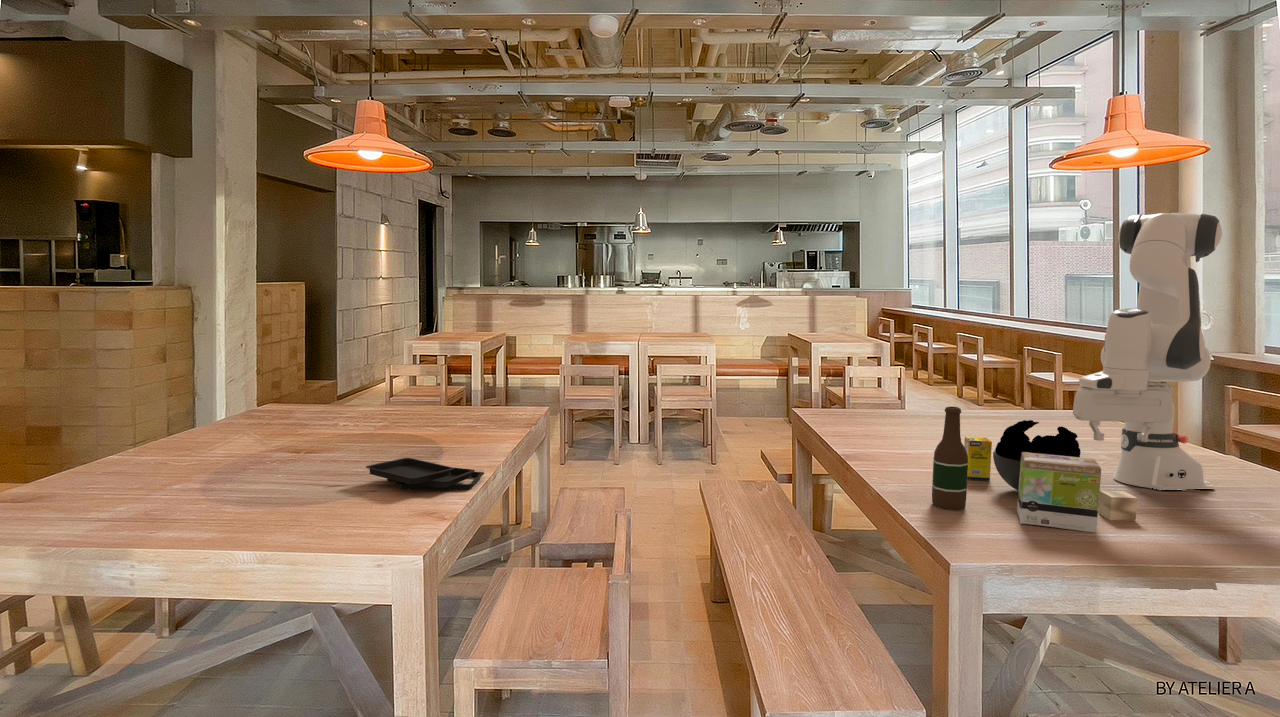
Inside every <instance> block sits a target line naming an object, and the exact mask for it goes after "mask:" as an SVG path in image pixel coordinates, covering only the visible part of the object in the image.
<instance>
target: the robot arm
mask: <svg viewBox="0 0 1280 717" xmlns="http://www.w3.org/2000/svg"><path fill="white" fill-rule="evenodd" d="M1222 230H1223V229H1222V226H1221V224H1220V220H1219V218H1217V216H1215V215H1211V214H1207V213H1201V214H1196V213H1185V212H1170V213H1169V212H1161V213H1155V214H1154V213H1153V214H1151V213H1150V214H1142V213H1141V214H1133V215H1129V216H1128V217H1126V218H1125V219H1124V220H1123V222H1122V224H1121V225H1120V227H1119V230H1118V232H1117V241H1118V244H1119V249H1121V251H1122V252H1124V253H1126V254H1129V255H1130V257H1129V272H1130V275H1131V276H1132V277H1133V279H1134V280H1135V281H1136V282H1137V283H1139V291H1138V296H1137V297H1138V298H1137V301H1136V308H1121V309H1116V310H1113V311H1112V312H1110V315H1109V318H1108V322H1107V327H1106V332H1105V334H1104V342H1103V343H1104V345H1103V347H1102V349H1101V351H1100V352H1101V353H1100V362H1101V364H1102V370H1101V371H1098V372H1095V373H1091V374H1087V375H1083V376H1081V377H1080V378H1079V379H1078V385H1080V386H1081V387H1079V388H1078V389H1077V390H1076V392H1075V395H1074V400H1073V406H1072V415H1073V416H1074V417H1075V419H1077V420H1080V421H1086V422H1087V421H1088V424H1089V426H1090V428H1091V430H1092V431H1093V441H1097V442H1099V441H1100V442H1101V441H1102V442H1103V441H1104V440H1105V438H1104V437H1105V433H1104V432H1102V431H1100V429H1099V427H1100V425H1101V422H1115V423H1116V422H1120V423H1122V422H1123V423H1124V426H1123V428H1121V438H1120V447H1121V450H1120V457H1119V461H1118V464H1117V468H1116V471H1115V473H1114V475H1113V479H1114V480H1115V481H1117V482H1119V483H1123V484H1127V485H1131V486H1136V487H1141V488H1147V489H1152V488H1153V490H1156V489H1157V491H1161V490H1177V489H1198V488H1213V487H1214V485H1213V483H1212V482H1209V481H1208V480H1206V479H1205V478H1204V470H1203V466H1202V464H1201V463H1200V461H1198V460H1197V459H1195V458H1194V457H1193V456H1192V455H1190V454H1189V453H1188V452H1187V451H1185V449H1183V448H1182V447H1180V444H1179V443H1181V444H1184V445H1185V444H1187V443H1188V442H1189V438H1188V436H1186V435H1183V434H1177V433H1176V432H1174V422H1175V420H1174V419H1175V409H1176V408H1175V405H1174V402H1173V396H1174V388H1173V386H1172V385H1171V384H1169V383H1167V382H1174V383H1175V382H1176V383H1186V382H1187V383H1188V382H1194V381H1196V382H1197V381H1200V380H1201V379H1202V378H1204V377H1205V376H1206V375H1207V373H1208V372H1209V370H1210V368H1211V363H1212V359H1211V355H1210V352H1209V350H1208V349H1207V348H1206V343H1205V338H1204V334H1203V331H1202V319H1201V318H1202V317H1201V300H1200V299H1201V298H1200V297H1201V296H1200V287H1199V285H1200V284H1199V280H1198V279H1199V278H1198V275H1197V272H1196V270H1195V269H1194V268H1192V263H1191V257H1195V263H1198V262H1200V260H1201V259H1202V258H1206V257H1207V256H1208V257H1209V255H1212V254H1213V253H1214V252H1215V251H1216V248H1217V247H1218V246H1219V244H1220V242H1221V240H1222V235H1223V231H1222Z"/></svg>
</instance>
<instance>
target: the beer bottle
mask: <svg viewBox="0 0 1280 717" xmlns="http://www.w3.org/2000/svg"><path fill="white" fill-rule="evenodd" d="M944 412H945V416H944V426H943V434H942V438H941V440H940V442H939V443H938V444H937V445H936V448H935V450H934V453H933V465H932V466H933V467H932V484H931V487H932V488H931V502H932V505H933V504H934V505H933V506H934V507H935V506H936V507H935V508H938V507H939V509H941V508H943V509H942V510H945V509H948V510H947V511H960V510H963V508H964V509H965V508H966V507H967V506H966V505H967V495H968V494H967V493H968V492H967V490H968V479H967V474H968V455H967V452H966V449H965V447H964V444H963V442H962V438H961V414H962V409H961V408H960V407H959V406H946V407H945V408H944ZM949 509H950V510H949ZM959 509H960V510H959Z"/></svg>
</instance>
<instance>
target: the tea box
mask: <svg viewBox="0 0 1280 717" xmlns="http://www.w3.org/2000/svg"><path fill="white" fill-rule="evenodd" d="M1101 477H1102V468H1101V466H1100V465H1099V464H1098V462H1097V461H1096V460H1095V458H1091V457H1090V458H1089V457H1081V456H1080V457H1069V456H1059V455H1048V454H1037V453H1027V452H1022V454H1021V464H1020V477H1019V491H1018V490H1017V493H1018V494H1017V508H1016V512H1017V516H1018V519H1019V523H1020V525H1032V526H1042V527H1048V528H1049V527H1050V528H1056V529H1064V530H1071V531H1079V532H1084V533H1090V532H1095V533H1096V531H1097V525H1098V505H1099V491H1101V490H1100V489H1101V480H1102V478H1101Z"/></svg>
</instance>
